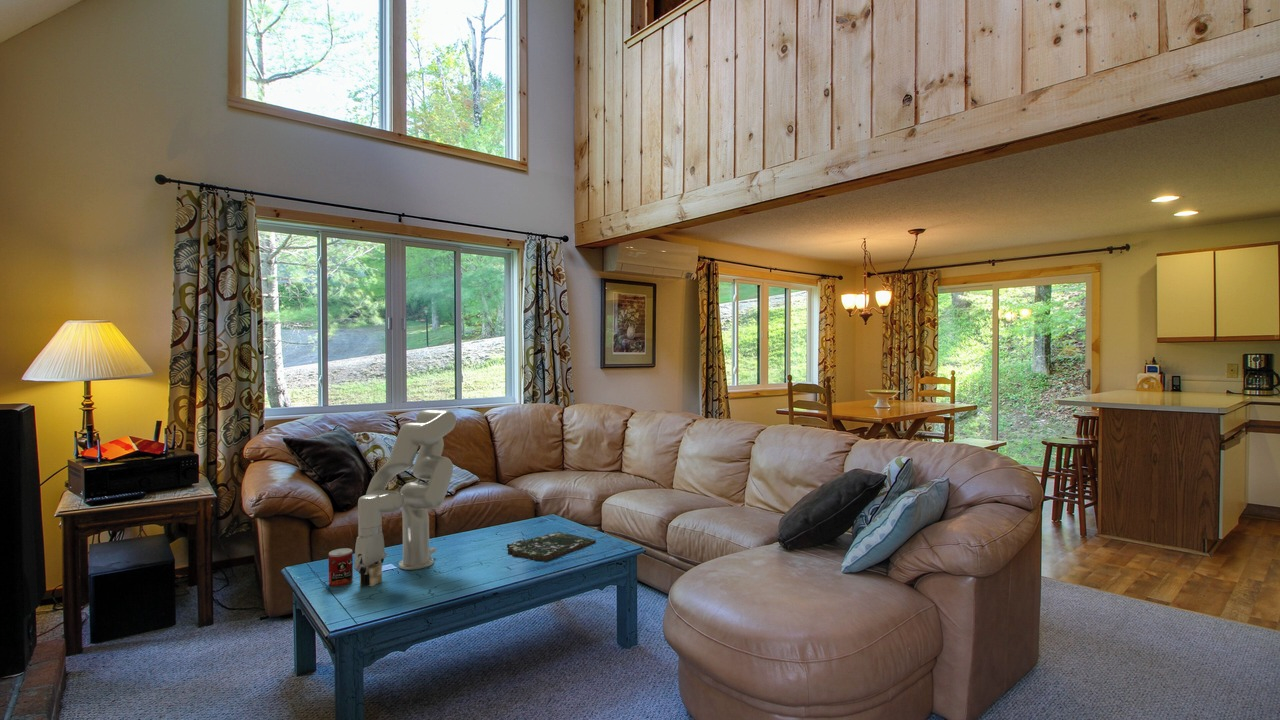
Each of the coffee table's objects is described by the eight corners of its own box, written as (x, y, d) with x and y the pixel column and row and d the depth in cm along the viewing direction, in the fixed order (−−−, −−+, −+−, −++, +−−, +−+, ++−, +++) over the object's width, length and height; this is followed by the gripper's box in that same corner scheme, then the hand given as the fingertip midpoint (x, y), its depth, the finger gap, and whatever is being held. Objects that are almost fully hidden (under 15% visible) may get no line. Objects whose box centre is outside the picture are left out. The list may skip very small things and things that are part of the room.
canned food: (329, 588, 209) (329, 556, 209) (327, 581, 216) (327, 550, 216) (354, 583, 213) (353, 552, 213) (351, 577, 220) (351, 546, 220)
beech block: (370, 579, 216) (370, 563, 216) (381, 581, 215) (381, 564, 215) (360, 584, 212) (359, 567, 212) (371, 586, 210) (371, 569, 210)
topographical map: (595, 543, 258) (595, 536, 258) (539, 565, 232) (539, 557, 232) (552, 533, 273) (552, 527, 273) (495, 552, 247) (495, 545, 247)
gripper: (378, 523, 222) (379, 572, 222) (343, 536, 206) (344, 590, 206) (395, 524, 220) (396, 574, 220) (361, 538, 204) (362, 592, 204)
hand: (371, 581), depth 213 cm, fingers closed on beech block, 5 cm apart
